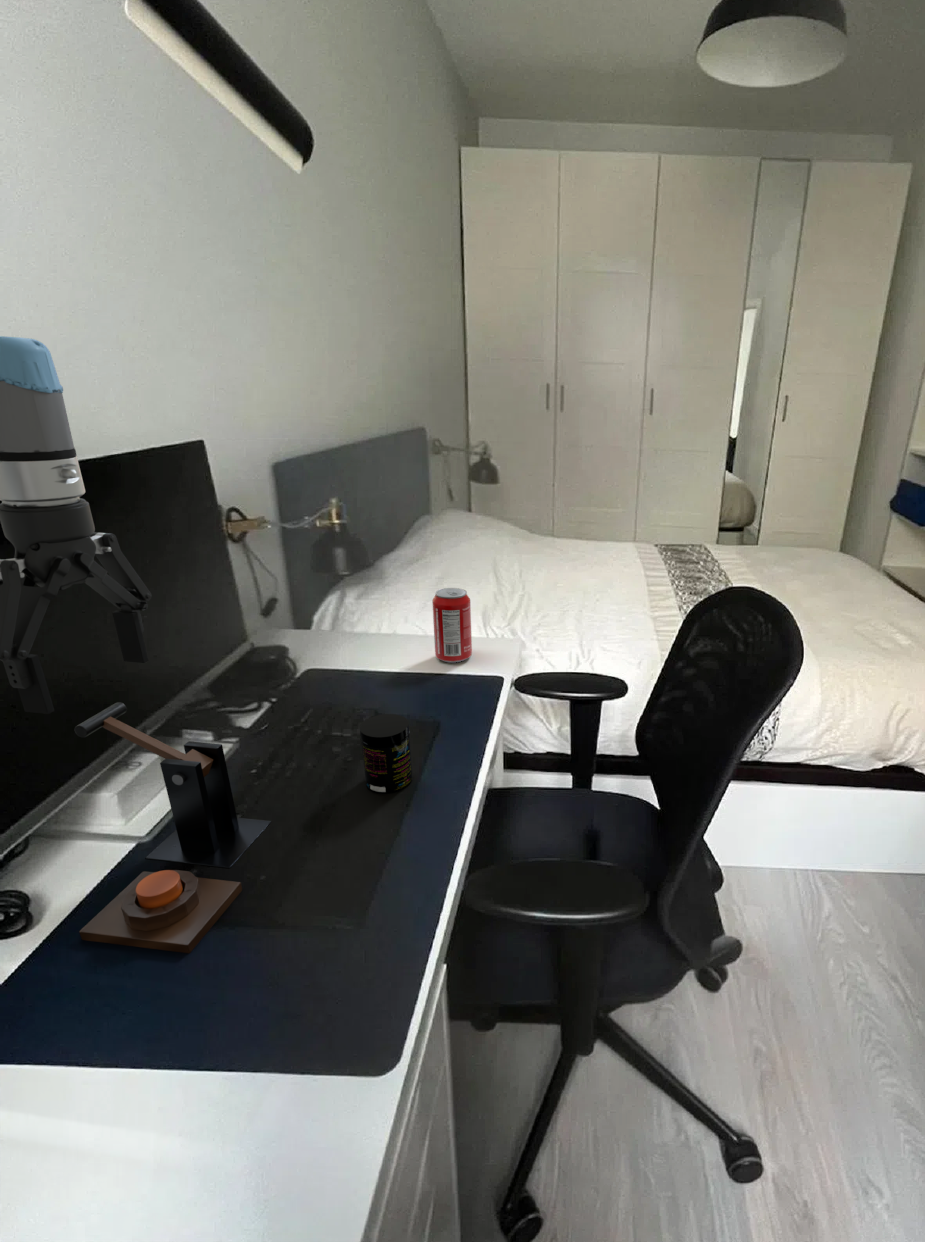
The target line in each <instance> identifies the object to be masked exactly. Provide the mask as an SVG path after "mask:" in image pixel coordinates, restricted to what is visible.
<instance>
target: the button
mask: <svg viewBox="0 0 925 1242" xmlns="http://www.w3.org/2000/svg"><path fill="white" fill-rule="evenodd" d="M172 870H173V869H164V870H159V871H154V872H155V873H153V874H151V875H149V876H147V877H145V878H144V879H142V880H141V881H140V882H139V883H138V885H137V887H136V894H137V898H138V901H139V904H140V906H141V907H143V908H145V909H154V908H158V907H162V906H165V905H167V904H169V903H171V902H172V901H174V900H176V899H177V898H178V897H179V896H180V895H181V893H182V890H183V888H182V884H181V880H180V876H179V874H178V873H177V872H175V871H172Z"/></svg>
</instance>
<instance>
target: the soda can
mask: <svg viewBox="0 0 925 1242" xmlns="http://www.w3.org/2000/svg"><path fill="white" fill-rule="evenodd" d="M434 593H435V594H434V597H433V598H432V604H431V605H432V621H433V623H432V624H433V638H434V642H433V643H434V654H435V658H437V659H438V660H440V661H442V662H444V663H448V664H456V662H457V663H461V661H462V662H464V661H466V660H468V659H469V658H471V656H472V654H473V643H472V642H473V639H472V610H471V609H472V607H471V598H470V597H469V595H468V594H467V593H468V592H467V590H465V589H463V588H459V587H445V588H444V587H443V588H440V589H438V590H436V591H435V592H434Z"/></svg>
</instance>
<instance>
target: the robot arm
mask: <svg viewBox="0 0 925 1242" xmlns="http://www.w3.org/2000/svg"><path fill="white" fill-rule="evenodd" d="M52 356H53V355H52V354H51V351H50V350H49V348H48V347H47V345H45V344H44V343H43V342H41V341H39V340H37V339H35V338H29V337H18V336H5V335H4V336H3V335H0V501H1V503H0V524H1V528H2V531H3V535H4V537H5V539H7V540H8V541H9V543H11V544H12V546H13V547H14V556H13V558H6V559H1V558H0V661H1V662H2V663H3V666H4V670H5V674H6V675H7V679H8V682H9V685H10V686H11V687H12V688H14V689H17V692H18V694H19V698H20V700H21V701H20V702H21V703H22V707H23V710H24V712H25V713H33V714H44V715H50V714H51V713H53V712H55V708H54V707H55V706H54V704H53V700H52V698H51V694H50V690H49V687H48V684H47V681H46V677H45V674H44V669H43V667H42V663H41V661H40V660H41V659H40V657H39V655H38V654H33V653H30V652H31V651H32V647H33V645H34V642H35V640H36V637H37V635H38V632H39V630H40V627H41V624H42V622H43V620H44V617H45V614H46V612H47V609H48V607H49V605H50V602H51V600H53V599H55V598H56V597H57V596H58V593H59V591H64V590H68V589H69V588H71V587H72V586H73V585H82V584H85V585H87V586H88V587H90V588H91V589H92V590H93V591H95V592H96V593H98V595H100V596H101V597H103V598H104V599H105V600H107V601H108V602H109V603H111V604H112V605H113V606H115V607H116V608H117V609H119V610H114V611H112V612H111V615H112V618H113V622H114V625H115V631H116V635H117V639H118V643H119V647H120V650H121V655H122V659H123V662H130V663H138V664H145V663H147V662H149V657H148V652H147V648H146V644H145V639H144V635H143V634H144V632H145V631H144V630H145V627H144V623H143V619H142V614H141V611H142V612H146V611H147V609H148V607H149V604H148V602H150V600H151V599H152V597H153V595H152V593H151V591H150V589H149V588H148V587H147V585H146V584H145V583H144V581H143V580H142V579H141V577H140V575H139V574H138V573H137V571H136V570H135V569H134V567H133V566H132V565H131V563H130V562H129V560H128V558H127V557H126V556H125V554H124V553H123V551H122V549H121V547H120V544H119V542H118V541H119V540H118V538H117V535H116V534H114V533H110V532H109V533H108V532H97V531H96V528H95V527H96V526H95V523H94V519H93V515H92V514H93V513H92V511H91V506H90V503H89V501H87V500H86V499H85V498H81V497H82V496H83V495H85V493H86V488H85V483H84V480H83V476H82V472H81V468H80V463H79V460H78V456H77V451H76V448H75V446H74V445H75V444H74V439H73V436H72V435H73V434H72V431H71V426H70V422H69V419H68V414H67V410H66V409H67V408H66V403H65V399H64V395H63V393H64V387H63V386H62V384H61V382H60V379H59V376H58V373H57V370H56V366H55V363H54V360H53V357H52ZM95 558H96V559H97V560H98V561H99V562H100V564H99V563H98V562H97V561H96V560H95ZM101 565H102V566H101ZM35 585H37V586H35Z"/></svg>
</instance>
